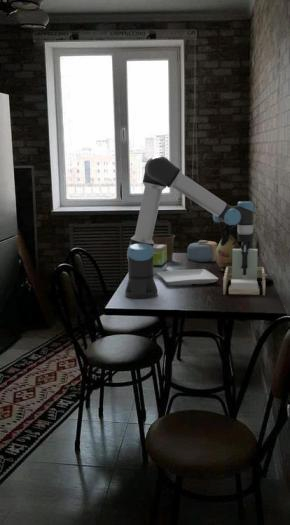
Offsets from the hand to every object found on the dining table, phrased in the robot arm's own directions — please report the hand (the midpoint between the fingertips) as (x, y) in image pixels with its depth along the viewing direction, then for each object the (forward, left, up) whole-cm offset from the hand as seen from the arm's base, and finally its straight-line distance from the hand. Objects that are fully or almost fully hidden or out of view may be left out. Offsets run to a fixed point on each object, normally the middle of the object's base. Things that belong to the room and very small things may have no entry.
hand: (244, 279), depth 261 cm
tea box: (+32, +50, -3) cm, 59 cm away
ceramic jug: (+38, +10, -3) cm, 39 cm away
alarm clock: (+74, +27, -3) cm, 79 cm away
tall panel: (0, 0, -3) cm, 3 cm away
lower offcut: (-15, 0, -3) cm, 16 cm away
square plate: (+8, +30, -3) cm, 31 cm away
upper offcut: (-15, 0, 0) cm, 15 cm away
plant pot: (+65, +52, -3) cm, 83 cm away
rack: (-4, 0, -3) cm, 5 cm away
